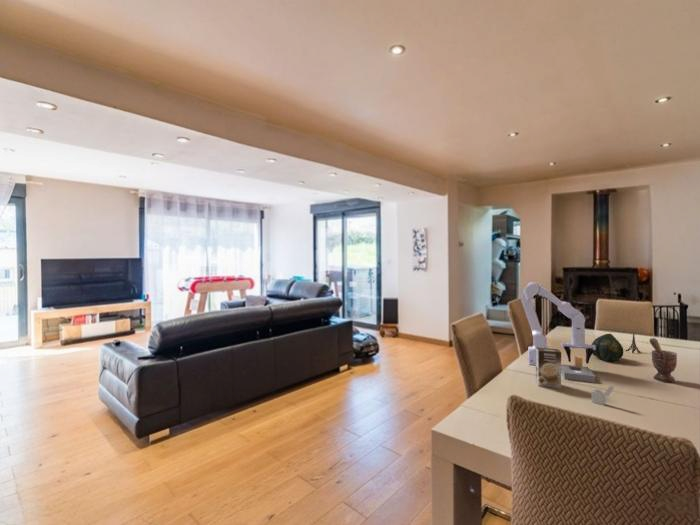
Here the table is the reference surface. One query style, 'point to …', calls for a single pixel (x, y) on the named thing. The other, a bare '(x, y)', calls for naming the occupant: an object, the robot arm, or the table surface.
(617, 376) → the table surface
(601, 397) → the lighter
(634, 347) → the eiffel tower figurine
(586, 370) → the grey flat block
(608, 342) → the squash
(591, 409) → the table surface
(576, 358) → the plug
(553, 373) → the coffee box
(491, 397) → the table surface
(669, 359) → the mortar and pestle
